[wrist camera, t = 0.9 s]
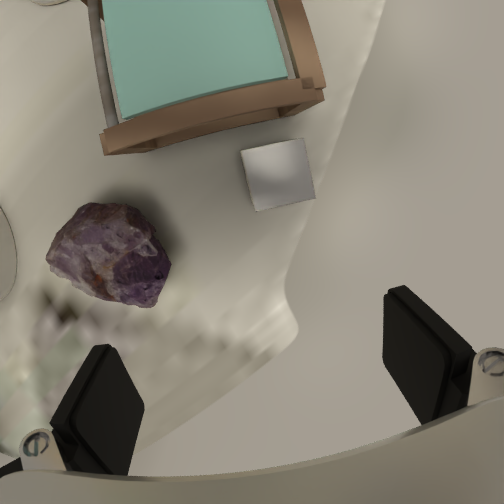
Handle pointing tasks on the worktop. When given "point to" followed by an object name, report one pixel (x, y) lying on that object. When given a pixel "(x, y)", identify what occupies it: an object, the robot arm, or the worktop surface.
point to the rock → (111, 255)
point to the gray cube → (278, 174)
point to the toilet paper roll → (6, 257)
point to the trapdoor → (188, 49)
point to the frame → (218, 104)
